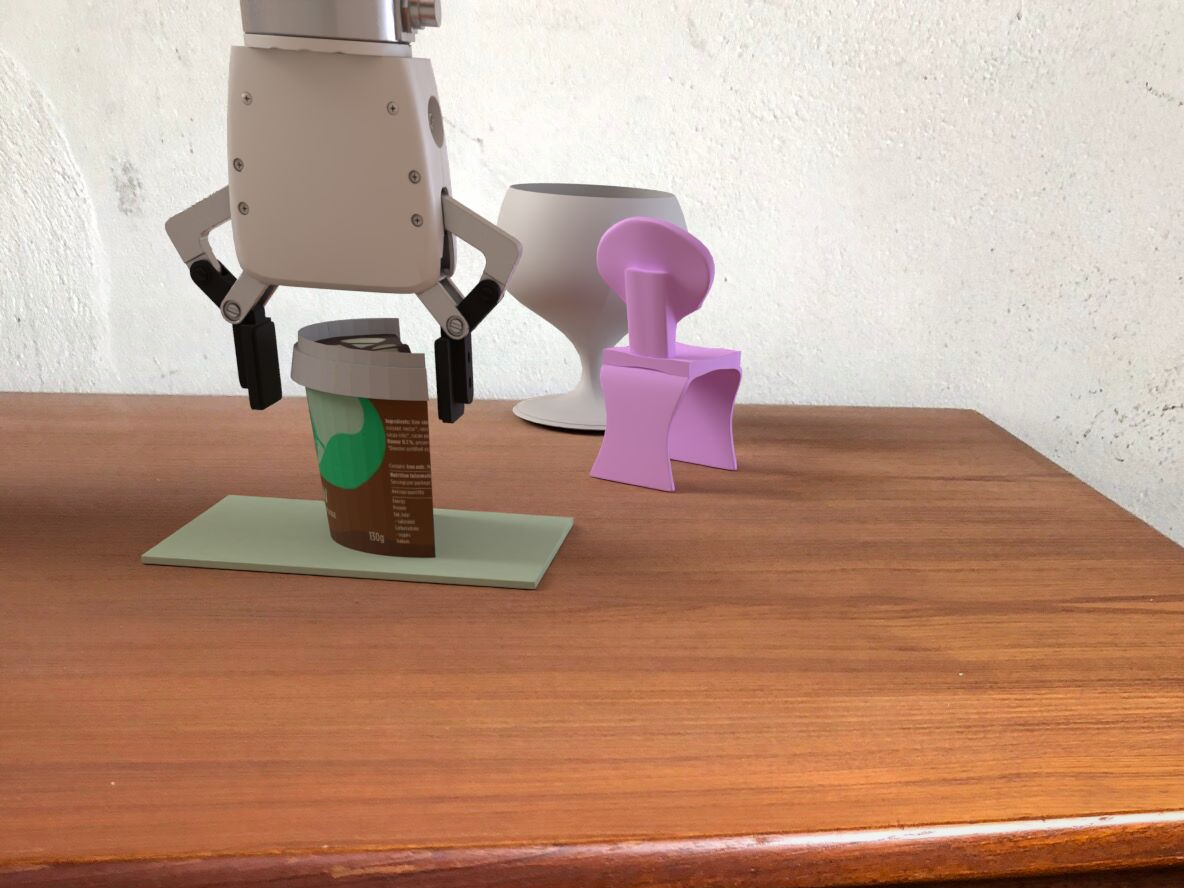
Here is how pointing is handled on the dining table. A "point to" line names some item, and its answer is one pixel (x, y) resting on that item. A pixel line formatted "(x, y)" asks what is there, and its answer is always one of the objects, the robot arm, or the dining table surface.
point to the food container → (369, 434)
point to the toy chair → (662, 360)
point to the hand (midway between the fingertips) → (359, 411)
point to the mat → (304, 546)
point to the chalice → (574, 279)
